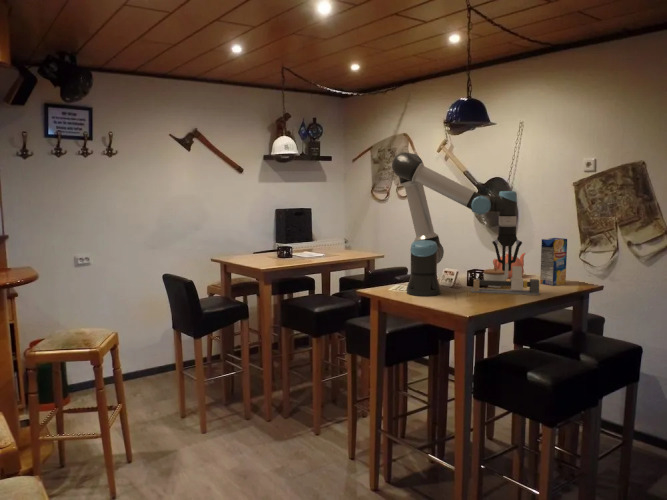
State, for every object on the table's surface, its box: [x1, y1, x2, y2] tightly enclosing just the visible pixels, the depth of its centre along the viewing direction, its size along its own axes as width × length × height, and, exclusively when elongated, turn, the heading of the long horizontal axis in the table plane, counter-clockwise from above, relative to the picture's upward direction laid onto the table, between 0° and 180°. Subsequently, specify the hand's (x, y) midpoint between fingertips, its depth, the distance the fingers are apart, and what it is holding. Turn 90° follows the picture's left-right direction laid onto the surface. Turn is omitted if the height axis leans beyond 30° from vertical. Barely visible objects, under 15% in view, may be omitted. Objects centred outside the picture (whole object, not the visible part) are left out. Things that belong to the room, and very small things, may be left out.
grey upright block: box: [509, 266, 524, 290], centre depth 238 cm, size 5×5×10 cm
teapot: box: [492, 252, 526, 279], centre depth 281 cm, size 22×15×12 cm
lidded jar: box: [483, 266, 507, 289], centre depth 253 cm, size 11×11×9 cm
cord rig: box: [470, 278, 540, 296], centre depth 240 cm, size 29×7×6 cm, turn 76°
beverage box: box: [539, 237, 568, 287], centre depth 259 cm, size 7×11×22 cm, turn 125°
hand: (506, 277), depth 239 cm, fingers closed
